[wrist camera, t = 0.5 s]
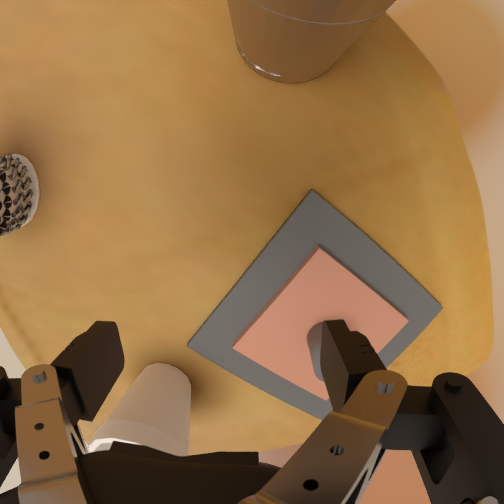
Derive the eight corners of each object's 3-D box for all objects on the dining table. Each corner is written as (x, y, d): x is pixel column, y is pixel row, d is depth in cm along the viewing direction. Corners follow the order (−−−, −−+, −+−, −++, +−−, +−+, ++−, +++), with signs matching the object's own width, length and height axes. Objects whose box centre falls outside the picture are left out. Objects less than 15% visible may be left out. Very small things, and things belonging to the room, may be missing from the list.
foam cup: (151, 337, 33) (109, 423, 20) (220, 382, 34) (206, 474, 22) (117, 381, 35) (78, 458, 23) (177, 419, 37) (157, 500, 24)
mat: (311, 189, 28) (312, 190, 27) (440, 305, 31) (443, 307, 30) (187, 343, 33) (186, 346, 32) (323, 417, 36) (324, 421, 36)
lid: (317, 244, 28) (331, 268, 23) (405, 316, 31) (429, 347, 25) (232, 342, 32) (228, 380, 26) (324, 394, 34) (333, 432, 28)
